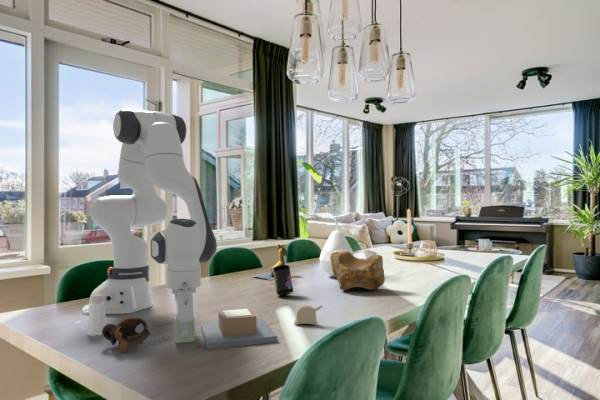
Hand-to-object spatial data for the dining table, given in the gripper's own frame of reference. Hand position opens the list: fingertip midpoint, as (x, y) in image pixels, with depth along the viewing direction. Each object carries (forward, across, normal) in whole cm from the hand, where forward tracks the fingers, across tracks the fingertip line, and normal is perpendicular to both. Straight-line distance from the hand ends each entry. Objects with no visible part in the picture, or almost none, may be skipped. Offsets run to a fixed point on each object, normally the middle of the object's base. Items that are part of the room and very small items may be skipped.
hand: (184, 331), depth 115 cm
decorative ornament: (+2, +3, -32) cm, 32 cm away
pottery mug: (+3, 0, +15) cm, 15 cm away
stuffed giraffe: (+3, +83, -46) cm, 95 cm away
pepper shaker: (+2, +13, +23) cm, 27 cm away
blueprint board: (+2, -1, -14) cm, 14 cm away
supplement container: (+2, +42, -39) cm, 58 cm away
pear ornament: (+2, +74, -76) cm, 106 cm away
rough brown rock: (+2, +43, -69) cm, 81 cm away
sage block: (+2, 0, 0) cm, 2 cm away
